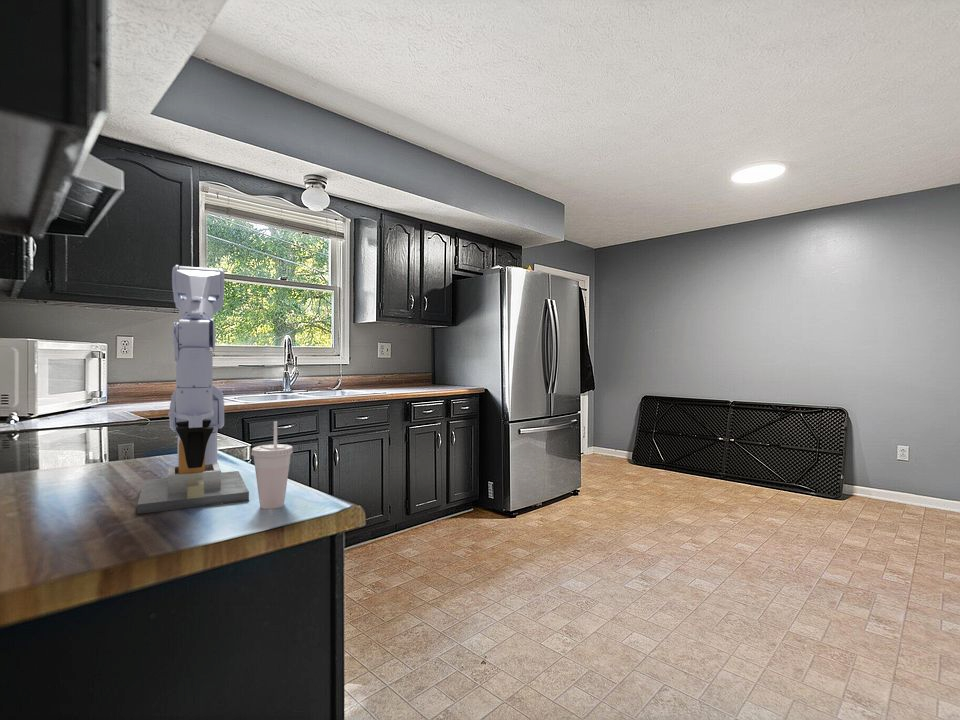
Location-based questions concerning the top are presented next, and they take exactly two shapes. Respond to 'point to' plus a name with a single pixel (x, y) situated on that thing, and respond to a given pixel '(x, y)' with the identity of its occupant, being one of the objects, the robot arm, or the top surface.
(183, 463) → the wedge pin
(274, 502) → the smoothie
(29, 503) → the top surface
